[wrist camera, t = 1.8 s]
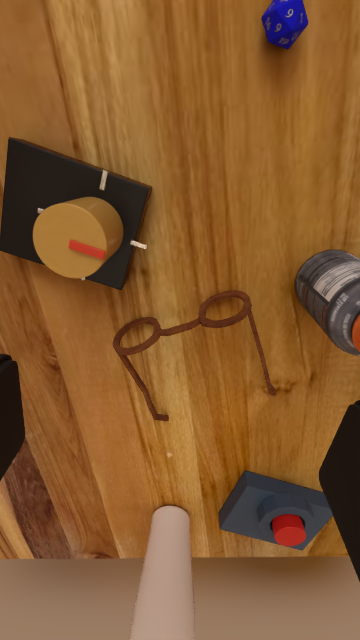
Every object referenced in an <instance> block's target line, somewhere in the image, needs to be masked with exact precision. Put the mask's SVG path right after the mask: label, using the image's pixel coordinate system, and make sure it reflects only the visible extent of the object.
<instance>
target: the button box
mask: <svg viewBox="0 0 360 640" xmlns="http://www.w3.org/2000/svg"><path fill="white" fill-rule="evenodd" d="M283 514H294V515H298V516H299V517H300V518H301V520H302V523H303V526H304V529H305V533H306V539H305V540H304V541H303V542H302V543H300V544H298V545H295V546H287V547H291V548H294V549H298V550H303V549H304V548H305V547H306V546H307V545H308V543H309V542H310V541H311V540H312V539H313V538H314V537H315V535H316V534H317V533H318V532H319V531H320V530H321V529H322V527H323V526H324V525H325V524H326V523H327V522H328V521H329V519H330V518H331V517H332V516H333V514H332V512H331V509H330V507H329V504H328V502H327V499H326V497H325V494H324V493H323V492H319V491H316V490H312V489H309V488H305V487H302V486H298V485H294V484H291V483H287V482H284V481H280V480H277V479H273V478H270V477H266V476H263V475H259V474H255V473H252V472H248V471H244V473H243V475H242V476H241V478H240V479H239V481H238V483H237V484H236V486H235V488H234V489H233V491H232V492H231V494H230V496H229V497H228V499H227V500H226V502H225V504H224V505H223V507H222V509H221V510H220V512H219V525H220V529H222V530H225V531H229V532H233V533H237V534H241V535H245V536H248V537H252V538H256V539H260V540H264V541H268V542H271V543H275V544H279V543H277V542H276V540H275V537H274V533H273V528H272V520H273V518H275V517H277V516H279V515H283ZM279 545H281V544H279ZM283 546H284V545H283Z"/></svg>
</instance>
